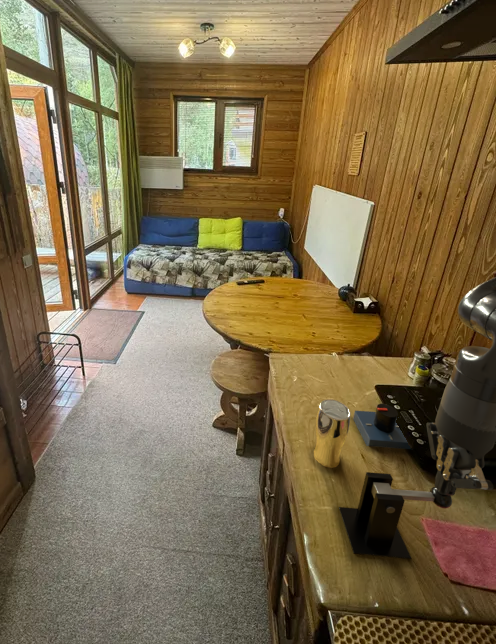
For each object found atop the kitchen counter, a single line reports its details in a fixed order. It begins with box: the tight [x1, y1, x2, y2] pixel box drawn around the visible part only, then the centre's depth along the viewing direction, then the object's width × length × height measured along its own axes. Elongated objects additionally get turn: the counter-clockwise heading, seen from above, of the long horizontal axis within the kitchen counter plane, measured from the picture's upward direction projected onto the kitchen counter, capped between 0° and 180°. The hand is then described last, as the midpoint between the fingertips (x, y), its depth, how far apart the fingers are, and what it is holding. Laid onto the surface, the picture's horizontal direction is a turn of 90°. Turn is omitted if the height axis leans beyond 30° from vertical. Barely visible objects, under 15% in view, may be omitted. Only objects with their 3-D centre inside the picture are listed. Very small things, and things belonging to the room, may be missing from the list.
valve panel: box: [353, 410, 412, 450], centre depth 81 cm, size 11×10×3 cm
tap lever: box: [371, 482, 453, 510], centre depth 55 cm, size 13×3×3 cm, turn 86°
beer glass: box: [313, 398, 352, 468], centre depth 72 cm, size 7×7×15 cm
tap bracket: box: [338, 471, 412, 560], centre depth 57 cm, size 10×8×13 cm
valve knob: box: [373, 403, 399, 433], centre depth 80 cm, size 5×5×5 cm
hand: (442, 490), depth 54 cm, fingers closed
